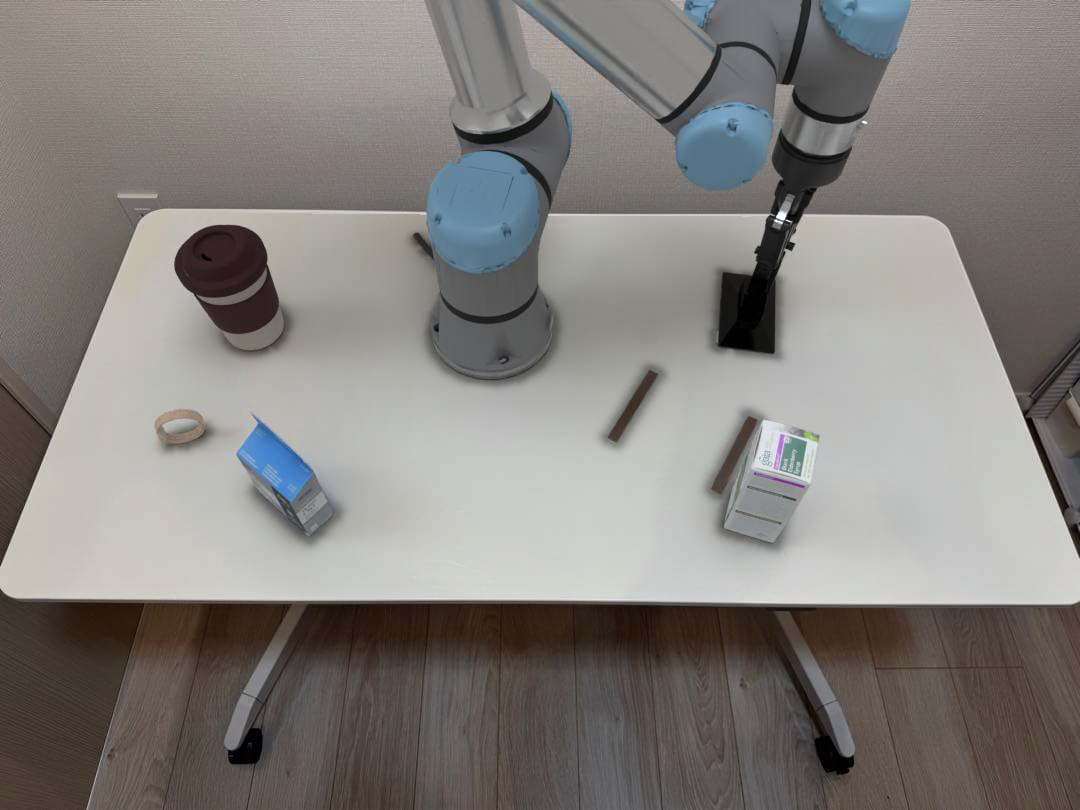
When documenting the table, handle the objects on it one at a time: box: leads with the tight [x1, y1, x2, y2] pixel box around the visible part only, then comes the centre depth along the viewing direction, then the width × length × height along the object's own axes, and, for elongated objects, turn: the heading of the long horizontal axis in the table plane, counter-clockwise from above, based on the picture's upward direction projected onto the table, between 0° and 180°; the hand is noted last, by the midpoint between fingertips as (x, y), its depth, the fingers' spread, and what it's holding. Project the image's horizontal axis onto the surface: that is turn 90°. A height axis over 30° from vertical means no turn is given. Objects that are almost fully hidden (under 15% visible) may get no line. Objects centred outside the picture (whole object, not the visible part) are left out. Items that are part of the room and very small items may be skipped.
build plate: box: [715, 271, 777, 355], centre depth 97 cm, size 12×7×5 cm, turn 170°
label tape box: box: [235, 411, 335, 537], centre depth 79 cm, size 9×4×12 cm, turn 50°
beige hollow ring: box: [154, 408, 205, 445], centre depth 87 cm, size 3×5×5 cm, turn 111°
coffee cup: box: [173, 224, 285, 351], centre depth 91 cm, size 10×10×15 cm
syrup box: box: [722, 419, 821, 544], centre depth 78 cm, size 6×6×14 cm
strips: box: [607, 369, 759, 495], centre depth 89 cm, size 14×11×1 cm
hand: (760, 286), depth 99 cm, fingers closed
